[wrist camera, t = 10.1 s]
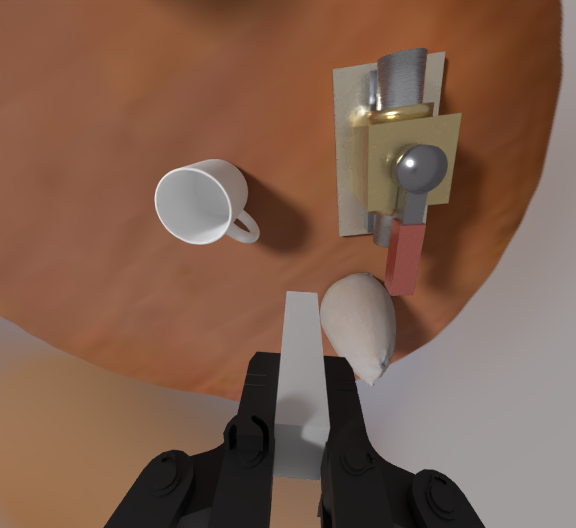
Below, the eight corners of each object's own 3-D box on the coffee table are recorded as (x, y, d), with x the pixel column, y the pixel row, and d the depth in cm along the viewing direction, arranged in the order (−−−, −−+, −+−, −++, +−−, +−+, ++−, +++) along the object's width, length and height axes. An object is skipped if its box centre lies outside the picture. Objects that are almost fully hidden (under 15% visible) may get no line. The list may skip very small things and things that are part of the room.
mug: (281, 206, 38) (274, 230, 28) (245, 244, 41) (229, 277, 31) (213, 144, 34) (180, 148, 25) (180, 191, 37) (140, 210, 28)
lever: (392, 145, 24) (402, 146, 22) (437, 142, 24) (452, 143, 22) (377, 284, 31) (383, 297, 29) (412, 283, 31) (421, 296, 28)
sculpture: (392, 326, 46) (428, 405, 33) (326, 337, 48) (336, 416, 35) (384, 264, 41) (424, 328, 28) (310, 279, 43) (314, 346, 30)
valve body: (331, 71, 30) (344, 46, 21) (441, 53, 29) (502, 19, 20) (338, 234, 39) (349, 264, 30) (422, 225, 38) (459, 254, 29)
